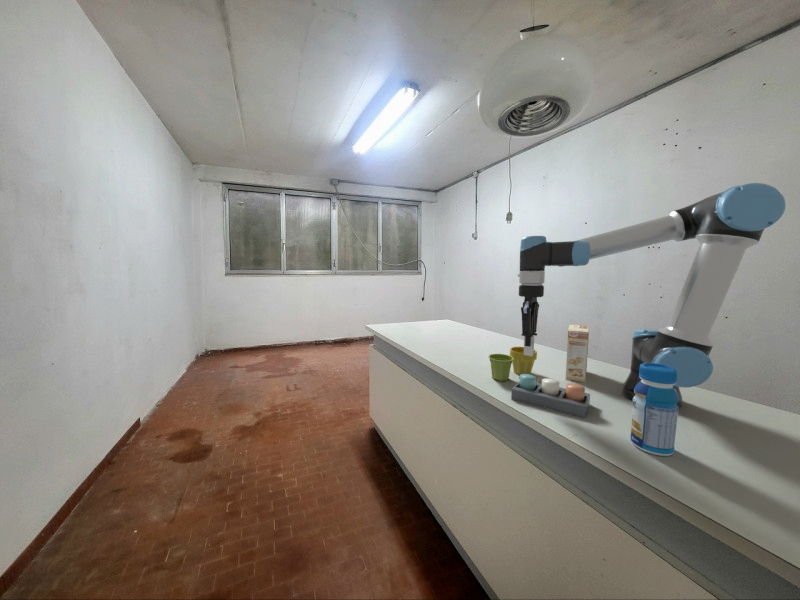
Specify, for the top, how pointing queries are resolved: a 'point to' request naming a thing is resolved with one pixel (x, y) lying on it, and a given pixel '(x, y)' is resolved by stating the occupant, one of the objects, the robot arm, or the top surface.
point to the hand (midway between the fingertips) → (528, 354)
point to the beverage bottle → (655, 409)
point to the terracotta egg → (575, 392)
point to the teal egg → (527, 382)
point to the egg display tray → (551, 400)
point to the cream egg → (550, 387)
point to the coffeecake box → (577, 352)
